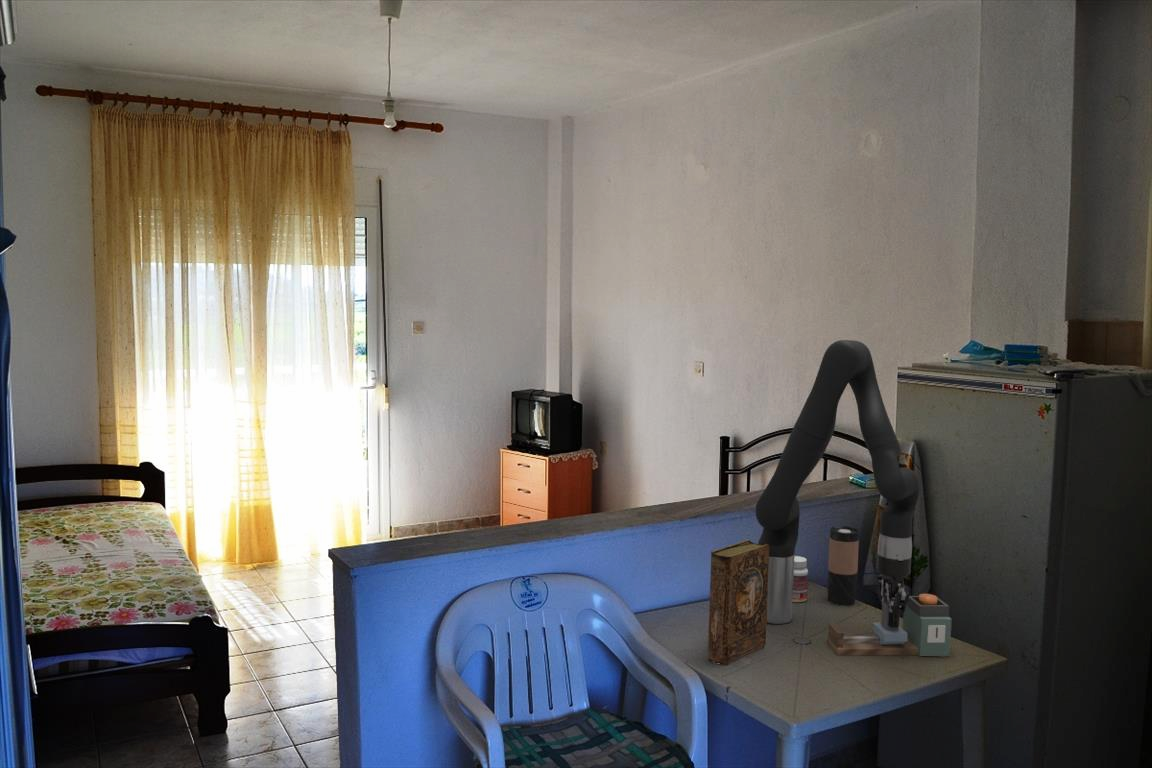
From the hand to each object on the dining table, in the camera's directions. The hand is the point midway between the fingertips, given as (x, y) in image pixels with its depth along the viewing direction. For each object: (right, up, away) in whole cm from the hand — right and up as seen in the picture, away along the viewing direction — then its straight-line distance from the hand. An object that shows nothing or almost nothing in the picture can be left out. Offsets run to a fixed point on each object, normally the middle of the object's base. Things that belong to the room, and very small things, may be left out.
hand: (890, 624), depth 214 cm
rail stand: (-4, -6, 0) cm, 7 cm away
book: (-37, -6, -3) cm, 38 cm away
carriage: (0, -4, 0) cm, 4 cm away
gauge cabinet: (+9, -6, +1) cm, 11 cm away
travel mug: (-2, -3, +32) cm, 33 cm away
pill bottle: (-14, -2, +34) cm, 37 cm away
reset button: (+9, +5, 0) cm, 10 cm away
